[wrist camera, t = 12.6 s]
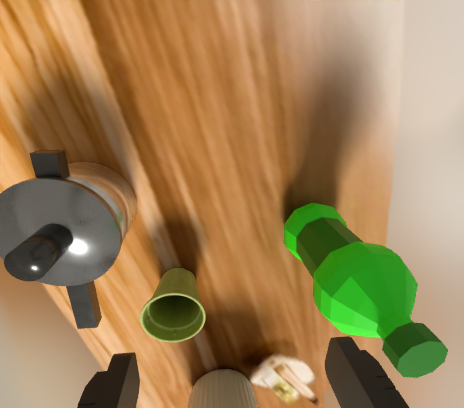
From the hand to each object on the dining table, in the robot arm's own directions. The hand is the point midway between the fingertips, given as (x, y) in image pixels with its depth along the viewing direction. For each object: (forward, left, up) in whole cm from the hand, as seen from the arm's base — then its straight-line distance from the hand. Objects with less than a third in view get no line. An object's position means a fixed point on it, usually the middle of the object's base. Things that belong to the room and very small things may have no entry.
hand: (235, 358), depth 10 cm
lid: (+5, -18, -21) cm, 28 cm away
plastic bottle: (+9, +16, -30) cm, 35 cm away
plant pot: (+20, -6, -30) cm, 37 cm away
